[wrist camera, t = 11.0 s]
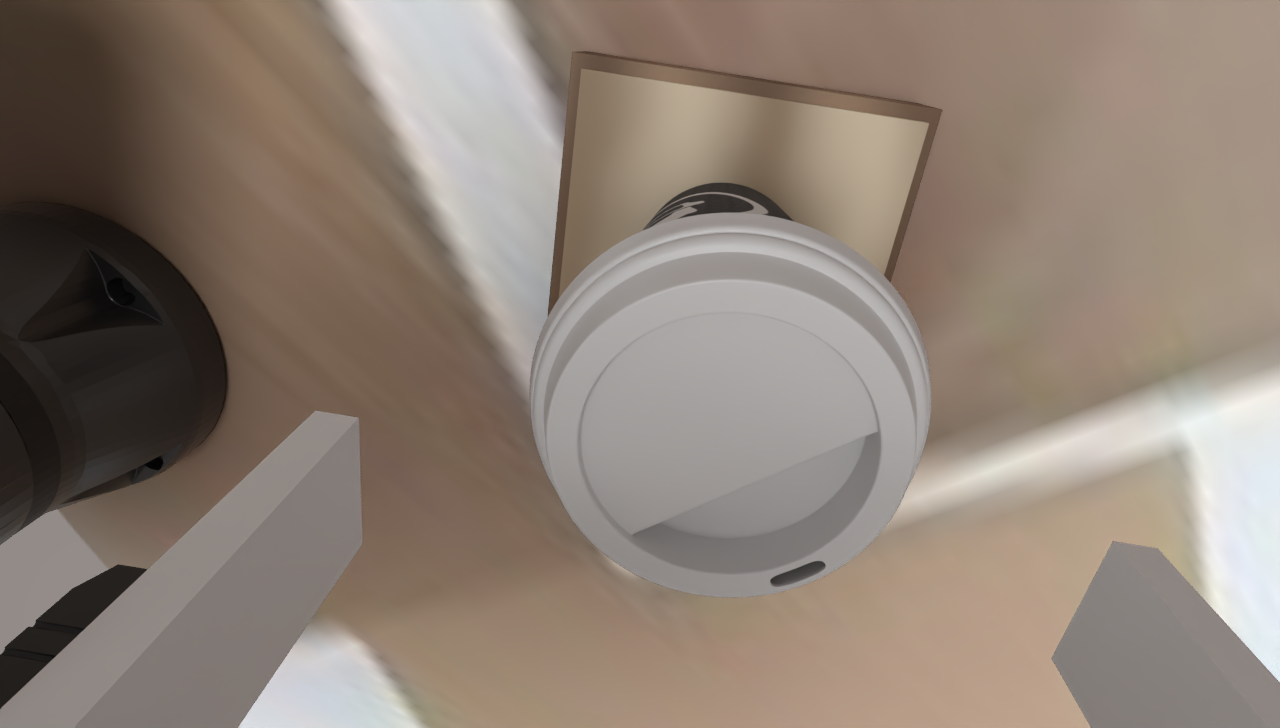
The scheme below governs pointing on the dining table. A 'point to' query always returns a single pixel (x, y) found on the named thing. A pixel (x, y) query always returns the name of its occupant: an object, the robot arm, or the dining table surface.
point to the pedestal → (731, 155)
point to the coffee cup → (730, 398)
